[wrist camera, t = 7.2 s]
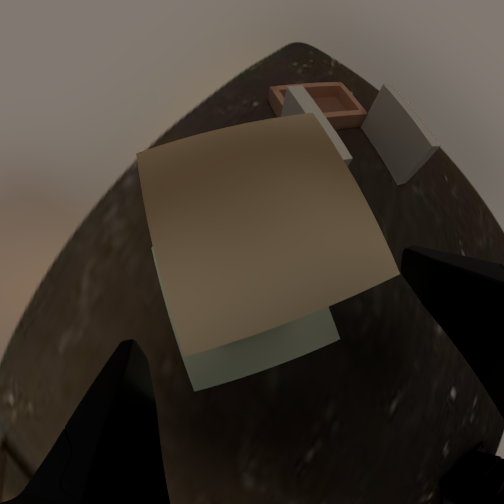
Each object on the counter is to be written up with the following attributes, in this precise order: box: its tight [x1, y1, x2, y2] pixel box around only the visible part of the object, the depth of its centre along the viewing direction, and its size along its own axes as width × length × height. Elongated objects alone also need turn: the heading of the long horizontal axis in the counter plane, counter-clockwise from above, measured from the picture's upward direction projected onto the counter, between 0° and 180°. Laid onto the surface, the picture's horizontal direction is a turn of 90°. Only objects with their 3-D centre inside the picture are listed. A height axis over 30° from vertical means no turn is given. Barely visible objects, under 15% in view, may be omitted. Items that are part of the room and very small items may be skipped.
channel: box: [281, 84, 440, 185], centre depth 19 cm, size 7×10×6 cm
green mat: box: [151, 247, 340, 392], centre depth 17 cm, size 10×10×1 cm
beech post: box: [137, 113, 400, 357], centre depth 12 cm, size 5×5×12 cm
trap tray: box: [268, 82, 367, 130], centre depth 22 cm, size 5×8×2 cm, turn 109°
